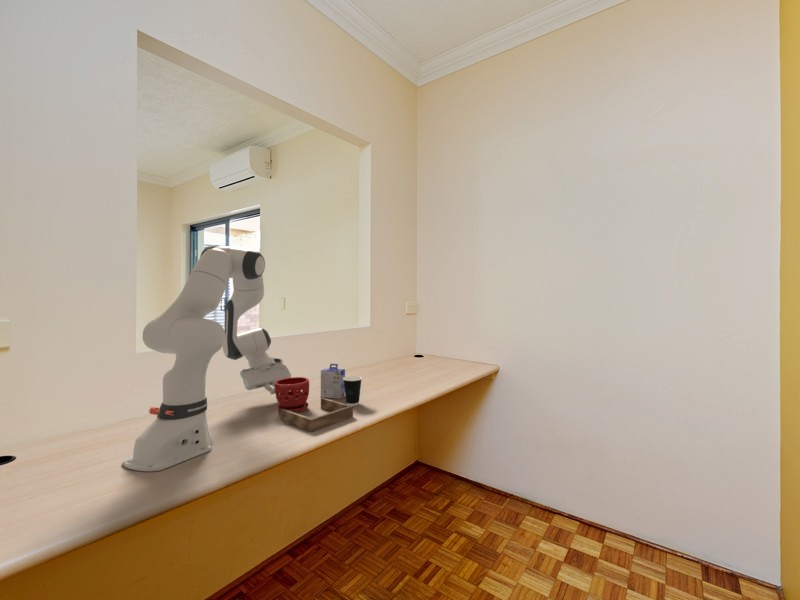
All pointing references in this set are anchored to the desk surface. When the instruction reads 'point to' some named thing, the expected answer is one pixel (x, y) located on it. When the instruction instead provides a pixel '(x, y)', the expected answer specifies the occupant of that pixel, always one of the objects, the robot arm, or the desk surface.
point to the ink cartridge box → (332, 382)
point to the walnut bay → (312, 424)
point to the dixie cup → (352, 389)
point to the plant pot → (292, 393)
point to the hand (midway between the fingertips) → (275, 392)
